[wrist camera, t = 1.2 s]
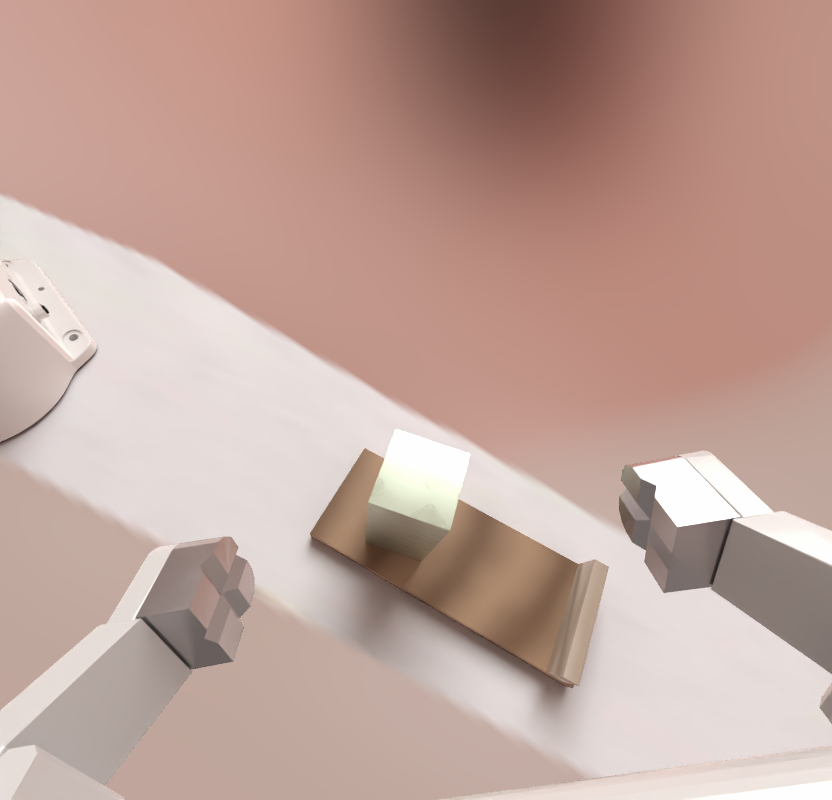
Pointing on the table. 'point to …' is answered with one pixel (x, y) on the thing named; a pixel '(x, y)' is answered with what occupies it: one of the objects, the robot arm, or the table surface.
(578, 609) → the shelf board
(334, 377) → the table surface
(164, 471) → the table surface
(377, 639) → the table surface
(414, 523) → the tea tin
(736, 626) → the table surface
